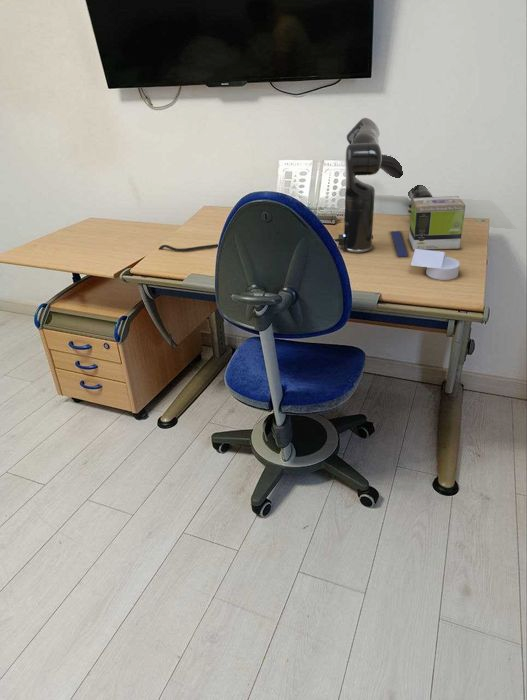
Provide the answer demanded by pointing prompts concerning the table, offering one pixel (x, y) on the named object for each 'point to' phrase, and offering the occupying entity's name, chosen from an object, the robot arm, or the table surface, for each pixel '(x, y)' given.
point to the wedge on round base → (436, 264)
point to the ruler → (399, 244)
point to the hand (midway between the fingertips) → (429, 216)
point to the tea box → (436, 222)
